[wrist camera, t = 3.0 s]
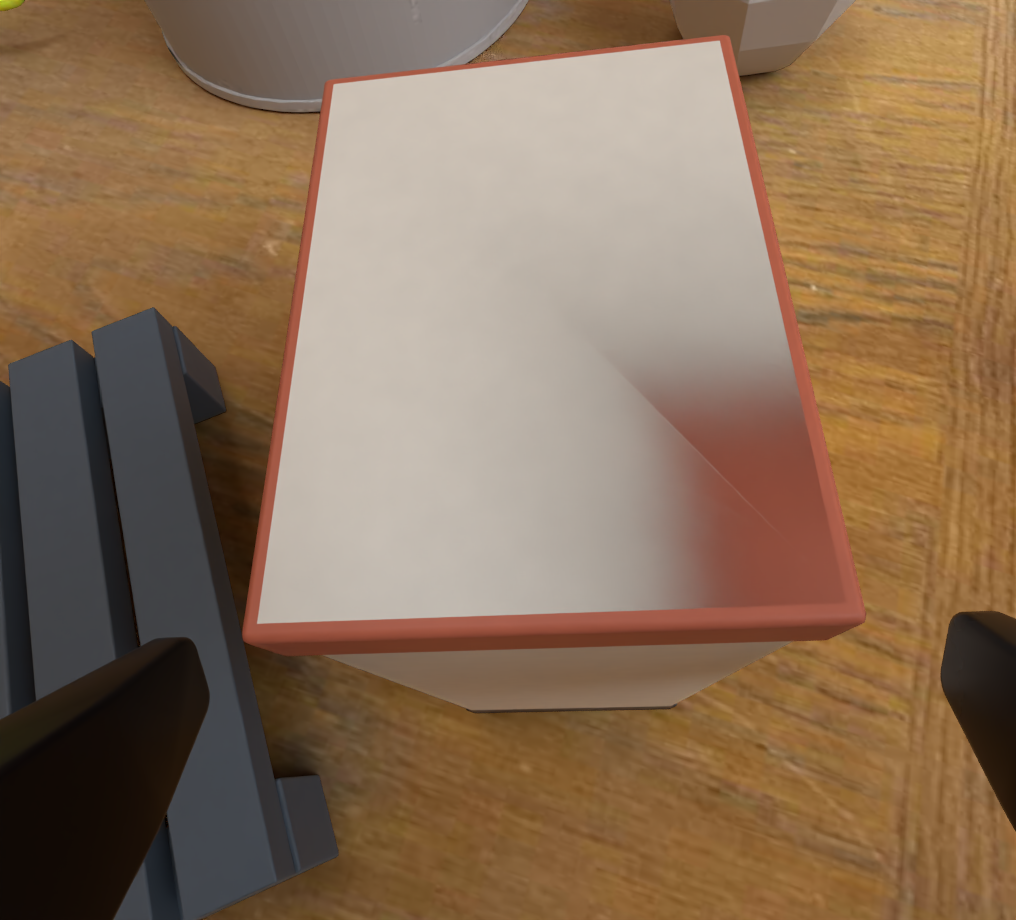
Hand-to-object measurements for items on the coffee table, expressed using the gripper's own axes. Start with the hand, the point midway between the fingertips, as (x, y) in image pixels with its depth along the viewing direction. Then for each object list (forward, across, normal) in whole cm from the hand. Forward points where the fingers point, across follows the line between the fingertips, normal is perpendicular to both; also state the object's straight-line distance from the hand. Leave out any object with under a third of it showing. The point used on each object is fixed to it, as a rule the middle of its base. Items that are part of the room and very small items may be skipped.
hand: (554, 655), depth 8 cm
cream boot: (+12, 0, +2) cm, 12 cm away
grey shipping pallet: (+9, +14, +6) cm, 17 cm away
